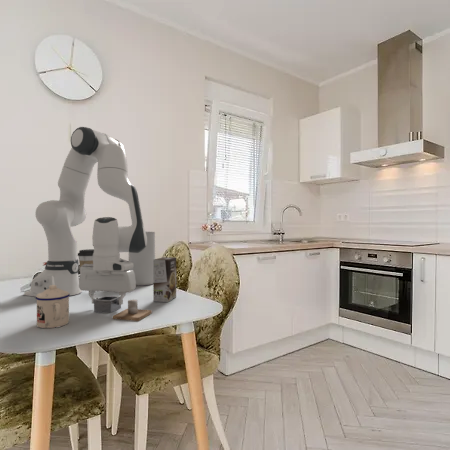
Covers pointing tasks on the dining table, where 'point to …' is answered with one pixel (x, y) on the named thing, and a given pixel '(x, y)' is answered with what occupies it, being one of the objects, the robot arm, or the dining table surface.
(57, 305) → the teacup with lid
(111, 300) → the steel collar
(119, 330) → the dining table surface
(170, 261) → the coffee box
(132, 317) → the stand
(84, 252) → the coffee cup
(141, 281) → the cylinder vase
